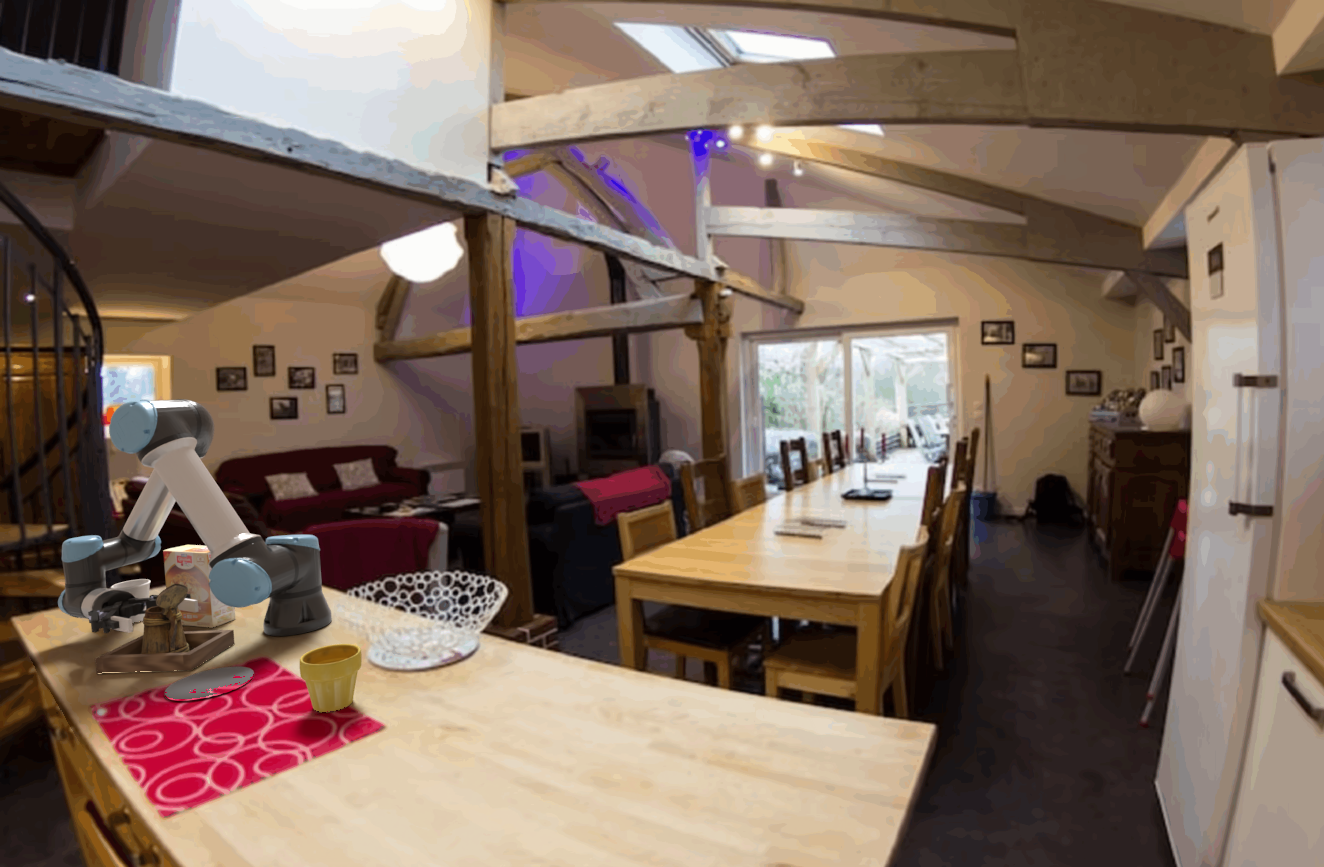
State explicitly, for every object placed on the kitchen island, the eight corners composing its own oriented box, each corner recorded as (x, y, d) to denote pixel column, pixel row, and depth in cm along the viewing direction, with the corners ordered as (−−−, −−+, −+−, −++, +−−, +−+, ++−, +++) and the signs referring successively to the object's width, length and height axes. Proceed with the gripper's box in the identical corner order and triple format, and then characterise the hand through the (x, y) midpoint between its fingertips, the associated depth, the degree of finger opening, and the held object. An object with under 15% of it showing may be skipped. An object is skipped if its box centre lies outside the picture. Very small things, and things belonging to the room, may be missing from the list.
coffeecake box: (167, 624, 176) (161, 550, 175) (193, 615, 183) (188, 543, 181) (211, 628, 172) (205, 552, 170) (237, 619, 178) (231, 545, 177)
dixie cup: (122, 617, 183) (119, 581, 182) (159, 613, 185) (155, 577, 184) (107, 627, 175) (104, 589, 174) (146, 623, 177) (142, 585, 177)
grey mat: (269, 667, 145) (268, 665, 145) (224, 700, 130) (224, 697, 130) (198, 670, 145) (198, 667, 145) (145, 703, 130) (145, 700, 130)
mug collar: (234, 644, 160) (233, 629, 160) (191, 670, 145) (189, 654, 145) (148, 647, 160) (147, 632, 159) (96, 674, 145) (95, 658, 144)
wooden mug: (157, 672, 145) (150, 589, 144) (133, 659, 152) (126, 580, 151) (204, 657, 152) (198, 578, 151) (179, 646, 160) (173, 571, 159)
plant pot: (374, 692, 131) (371, 642, 131) (344, 718, 121) (341, 664, 120) (324, 691, 132) (320, 642, 132) (290, 717, 122) (286, 664, 121)
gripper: (168, 605, 172) (222, 614, 163) (46, 640, 149) (101, 652, 140) (165, 576, 171) (219, 583, 162) (43, 606, 149) (97, 617, 140)
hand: (164, 615), depth 151 cm, fingers open, 13 cm apart
